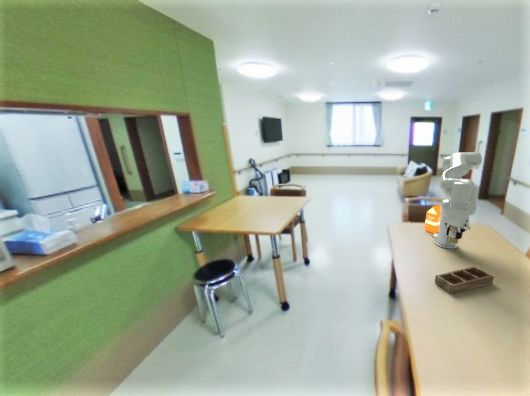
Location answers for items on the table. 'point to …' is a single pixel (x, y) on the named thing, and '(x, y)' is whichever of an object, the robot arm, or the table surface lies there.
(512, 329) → the table surface
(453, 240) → the sprinkles bottle
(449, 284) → the rack
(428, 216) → the orange juice
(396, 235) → the table surface
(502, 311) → the table surface
